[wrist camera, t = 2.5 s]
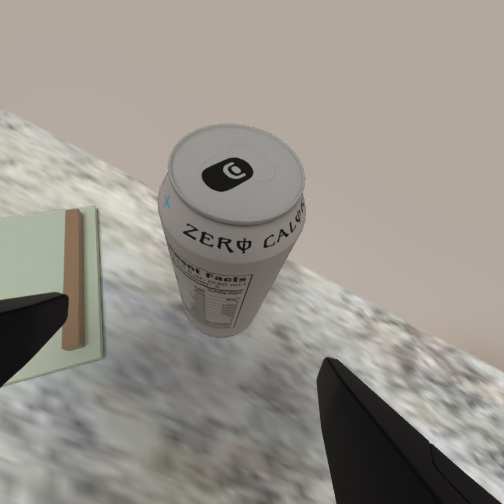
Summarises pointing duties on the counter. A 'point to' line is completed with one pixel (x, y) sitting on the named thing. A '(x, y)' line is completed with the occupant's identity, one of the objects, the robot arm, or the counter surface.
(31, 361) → the mat
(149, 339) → the counter surface
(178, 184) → the energy drink can
